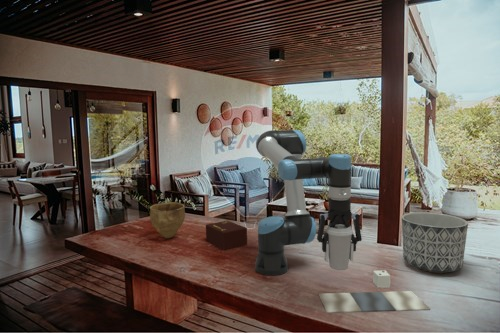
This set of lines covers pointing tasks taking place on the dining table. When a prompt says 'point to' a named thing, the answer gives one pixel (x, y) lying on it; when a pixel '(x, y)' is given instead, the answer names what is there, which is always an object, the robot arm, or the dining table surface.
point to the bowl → (167, 218)
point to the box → (226, 235)
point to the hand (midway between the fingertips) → (338, 260)
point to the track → (372, 302)
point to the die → (381, 279)
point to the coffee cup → (339, 246)
